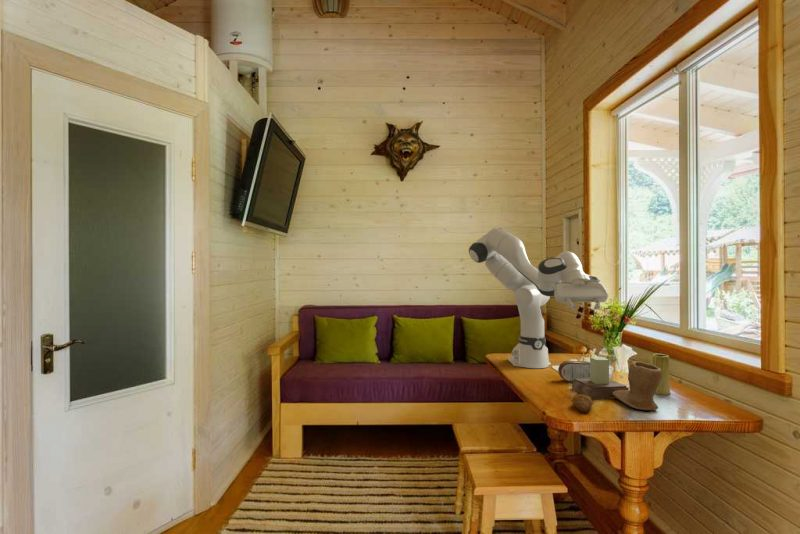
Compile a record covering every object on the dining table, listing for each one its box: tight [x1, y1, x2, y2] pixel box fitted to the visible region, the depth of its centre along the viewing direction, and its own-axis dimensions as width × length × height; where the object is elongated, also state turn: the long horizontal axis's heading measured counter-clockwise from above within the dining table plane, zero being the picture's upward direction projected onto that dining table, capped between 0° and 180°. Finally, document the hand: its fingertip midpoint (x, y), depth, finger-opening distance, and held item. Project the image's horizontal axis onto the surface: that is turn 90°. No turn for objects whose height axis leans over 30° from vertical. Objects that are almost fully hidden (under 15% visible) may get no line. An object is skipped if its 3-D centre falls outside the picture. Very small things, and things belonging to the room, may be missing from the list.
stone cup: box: [612, 360, 662, 411], centre depth 149 cm, size 15×12×15 cm
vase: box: [652, 353, 671, 396], centre depth 164 cm, size 6×6×14 cm
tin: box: [557, 360, 590, 383], centre depth 180 cm, size 15×3×8 cm, turn 84°
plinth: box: [571, 378, 629, 400], centre depth 164 cm, size 14×14×4 cm
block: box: [589, 356, 610, 384], centre depth 164 cm, size 5×5×9 cm
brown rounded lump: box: [571, 393, 594, 414], centre depth 147 cm, size 14×7×5 cm, turn 160°
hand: (585, 308), depth 169 cm, fingers open, 8 cm apart
